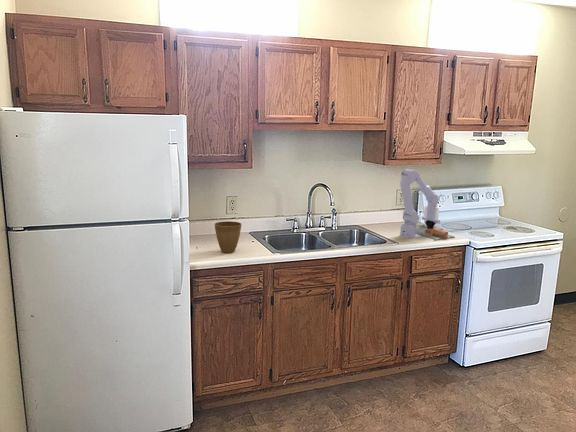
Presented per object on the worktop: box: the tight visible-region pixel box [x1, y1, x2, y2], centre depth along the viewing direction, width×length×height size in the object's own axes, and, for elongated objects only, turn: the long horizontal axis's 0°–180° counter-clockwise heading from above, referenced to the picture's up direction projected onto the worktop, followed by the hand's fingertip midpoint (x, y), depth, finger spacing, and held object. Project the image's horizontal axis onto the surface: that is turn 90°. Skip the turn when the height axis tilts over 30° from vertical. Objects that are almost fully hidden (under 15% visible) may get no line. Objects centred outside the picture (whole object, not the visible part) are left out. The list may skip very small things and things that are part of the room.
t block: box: [424, 227, 449, 240], centre depth 315 cm, size 12×12×4 cm
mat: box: [415, 227, 455, 242], centre depth 322 cm, size 18×30×1 cm, turn 31°
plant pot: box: [214, 220, 242, 254], centre depth 269 cm, size 15×15×16 cm
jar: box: [423, 204, 440, 228], centre depth 345 cm, size 11×10×15 cm
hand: (429, 232), depth 321 cm, fingers closed
